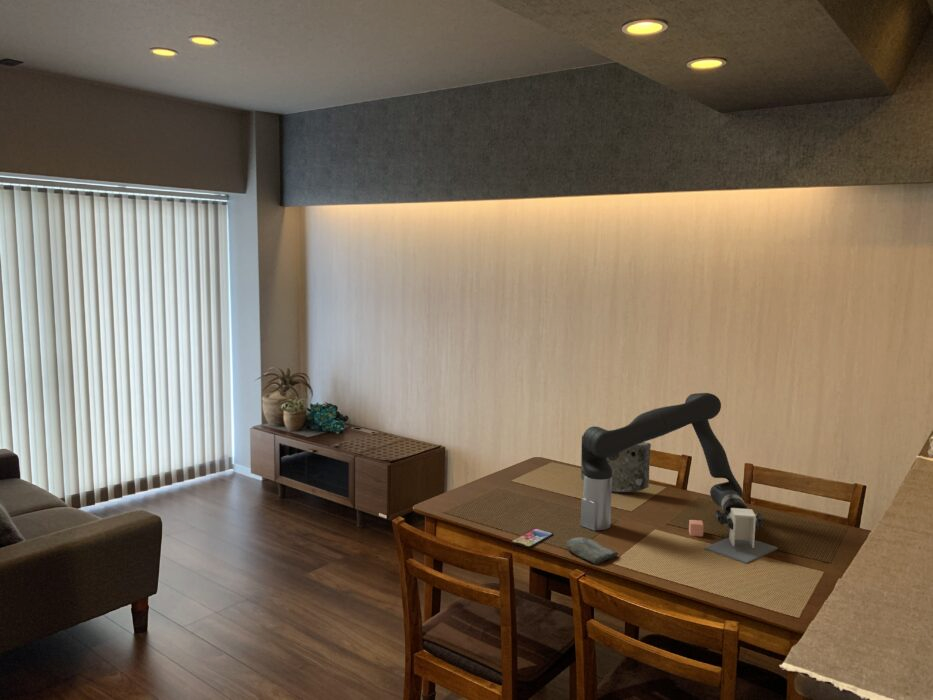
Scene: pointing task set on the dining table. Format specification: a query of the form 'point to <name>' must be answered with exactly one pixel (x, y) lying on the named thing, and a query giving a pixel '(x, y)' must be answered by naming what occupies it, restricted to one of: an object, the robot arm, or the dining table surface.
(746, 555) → the mat
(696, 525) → the cube
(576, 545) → the stone
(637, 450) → the concrete block
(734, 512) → the white open box
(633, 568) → the dining table surface
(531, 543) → the smartphone
